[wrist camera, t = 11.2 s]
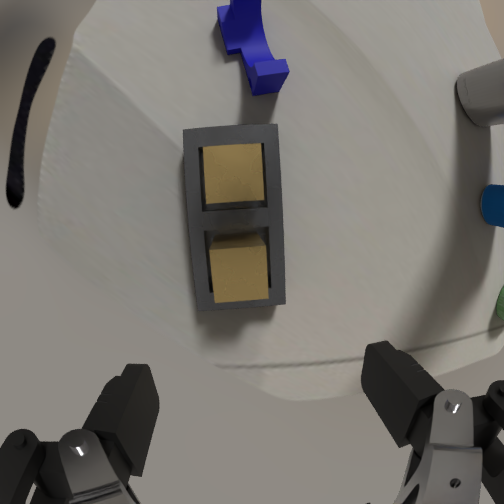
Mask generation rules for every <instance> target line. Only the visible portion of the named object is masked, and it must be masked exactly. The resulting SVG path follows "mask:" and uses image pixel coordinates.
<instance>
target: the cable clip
mask: <svg viewBox="0 0 504 504" xmlns="http://www.w3.org/2000/svg"><path fill="white" fill-rule="evenodd" d="M217 17H218V22H219V26H220V29H221V33H222V36H223V40H224V44H225V47H226V51H227V54H228V55H231V54H236V53H241V56H242V59H243V63H244V66H245V70H246V73H247V77H248V81H249V84H250V88H251V91H252V95H253V96H256V95H261V94H267V93H274V92H279V91H280V89H281V87H282V85H283V83H284V81H285V79H286V78H287V76H288V74H289V68H288V65H287V62H286V59H279V60H275V59H274V58H273V56H272V54H271V52H270V50H269V47H268V44H267V41H266V38H265V34H264V29H263V24H262V16H261V0H230V5H226V6H220V7H217Z"/></svg>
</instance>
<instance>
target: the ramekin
mask: <svg viewBox="0 0 504 504" xmlns="http://www.w3.org/2000/svg"><path fill="white" fill-rule="evenodd" d="M496 311H497V315H498V316H499V317H500V318H501V319H502V320H504V286H503V288H502V290H501V292H500V294H499V297H498V301H497V307H496Z"/></svg>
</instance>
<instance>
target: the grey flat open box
mask: <svg viewBox="0 0 504 504" xmlns="http://www.w3.org/2000/svg"><path fill="white" fill-rule="evenodd" d="M256 143H261V152H262V169H263V186H264V200H255V201H238V202H224V203H211V204H206V192H205V176H204V158H203V147H208V146H220V145H236V144H256ZM183 148H184V169H185V186H186V200H187V213H188V225H189V236H190V247H191V256H192V266H193V275H194V283H195V291H196V299H197V307H198V311H206V310H222V309H236V308H249V307H261V306H272V305H283V304H286V297H285V258H284V231H283V208H282V188H281V170H280V154H279V139H278V125H277V124H252V125H231V126H217V127H205V128H194V129H185V130H183ZM244 232H257V233H258V235H259V236H260V238H261V239H262V241H263V242H264V244H265V245H266V256H267V276H268V296H269V299H258V300H246V301H234V302H221V303H215V300H214V291H213V282H212V272H211V263H210V252H209V249H210V247H211V244H212V241H213V238H214V236H215V235H218V234H231V233H244Z"/></svg>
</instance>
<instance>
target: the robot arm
mask: <svg viewBox="0 0 504 504" xmlns="http://www.w3.org/2000/svg"><path fill="white" fill-rule="evenodd" d="M457 90H458V95H459V98H460V101H461V104H462V106H463V108H464V110H465V111H466V113H467V115H468V116H469V117H470V119H471V120H472V121H473V122H474V123H475V124H477V125H478V126H481V127H485V126H492V125H499V124H504V59H501V60H498V61H495V62H492V63H489V64H486V65H483V66H481V67H478V68H475V69H472V70H470V71H467V72H465V73H462V74H461V75H459V77H458V80H457ZM361 384H362V388H363V391H364V393H365V394H366V396H367V397H368V399H369V400H370V402H371V404H372V405H373V407H374V408H375V410H376V412H377V413H378V415H379V416H380V418H381V419H382V421H383V423H384V424H385V426H386V428H387V429H388V431H389V433H390V434H391V436H392V437H393V439H394V441H395V442H396V444H397V445H398V447H399V448H401V447H403V446H406V445H408V444H411V445H412V447H413V448H412V451H411V453H410V456H409V460H408V464H407V468H406V471H405V475H404V478H403V482H402V485H401V488H400V491H399V493H398V496H397V498H396V500H395V502H394V503H393V504H479V498H480V489H481V481H482V483H483V484H484V486H485V488H486V489H487V491H488V492H489V494H490V496H491V497H492V499H493V500H494V502H495V504H504V445H503V444H502V442H501V441H500V440H499V439H498V437H497V435H498V434H499V432H500V431H501V429H503V430H504V380H499V381H495V382H493V383H492V384H491V385H490V386H489V389H488V391H487V393H486V395H482V396H477V397H472V398H470V397H469V396H468V395H467V394H466V393H464V392H462V391H459V390H454V389H449V390H444V389H443V388H442V387H441V386H440V385H439V384H438V383H437V382H436V381H435V380H434V379H433V377H432V376H431V375H430V374H429V373H428V372H427V371H426V370H424V368H423V367H422V366H421V365H420V364H418V362H417V361H416V360H415V359H414V358H413V357H412V356H411V355H409V354H407V353H405V352H403V351H401V350H396V349H395V348H394V347H393V346H392V345H391V344H390V343H389V342H388V341H381V342H377V343H372V344H368V345H367V347H366V350H365V356H364V363H363V369H362V375H361ZM158 413H159V396H158V393H157V390H156V387H155V384H154V380H153V377H152V374H151V370H150V367H149V366H148V365H147V364H127V365H126V367H125V369H124V370H123V372H122V374H121V376H115V377H114V378H113V379H111V380H110V381H109V382H108V383H107V384H106V385H105V387H104V389H103V390H102V392H101V395H100V396H99V397H98V399H97V402H96V403H95V405H94V406H93V408H92V410H91V412H90V414H89V416H88V418H87V420H86V421H85V423H84V425H83V427H82V429H75V430H71V431H69V432H67V433H66V434H64V435H63V436H62V438H61V439H60V441H59V442H40V441H39V440H38V438H37V437H36V435H35V434H34V433H33V432H32V431H30V430H27V429H19V430H16V431H14V432H12V433H10V435H8V437H7V438H6V439H5V441H4V443H3V444H2V446H1V448H0V504H25V502H26V499H27V496H28V494H29V492H30V489H31V487H32V484H33V483H34V484H35V485H36V486H37V487H36V489H35V492H34V494H33V497H32V499H31V502H30V504H141V502H140V501H139V499H138V498H137V496H136V495H135V493H134V491H133V490H132V488H131V486H130V485H129V484H128V481H129V478H130V475H133V476H139V477H142V473H143V469H144V465H145V461H146V457H147V453H148V449H149V446H150V442H151V438H152V434H153V431H154V427H155V423H156V419H157V416H158ZM367 504H370V503H367Z"/></svg>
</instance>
